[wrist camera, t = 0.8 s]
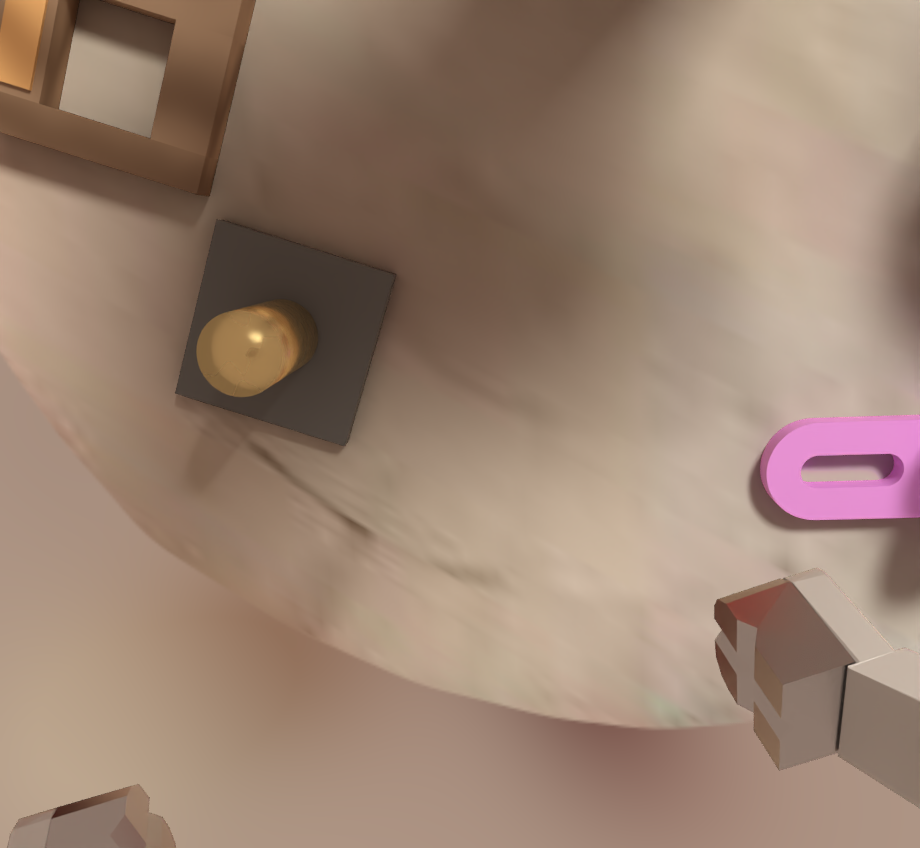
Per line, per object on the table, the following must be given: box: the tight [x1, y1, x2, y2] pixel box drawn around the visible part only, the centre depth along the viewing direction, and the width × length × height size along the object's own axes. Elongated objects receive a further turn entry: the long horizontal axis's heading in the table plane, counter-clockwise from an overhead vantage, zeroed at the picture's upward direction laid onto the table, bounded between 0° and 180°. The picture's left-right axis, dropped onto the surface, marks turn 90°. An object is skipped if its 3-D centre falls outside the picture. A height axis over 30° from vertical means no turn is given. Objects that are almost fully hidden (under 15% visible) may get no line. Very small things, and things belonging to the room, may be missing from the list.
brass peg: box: [196, 299, 318, 397], centre depth 43 cm, size 4×4×8 cm
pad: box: [175, 219, 396, 446], centre depth 48 cm, size 10×10×1 cm
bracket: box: [760, 415, 920, 520], centre depth 45 cm, size 13×6×7 cm, turn 92°
